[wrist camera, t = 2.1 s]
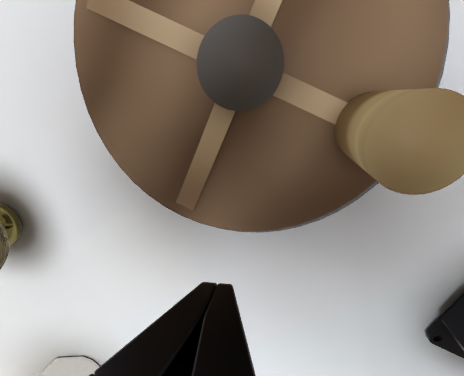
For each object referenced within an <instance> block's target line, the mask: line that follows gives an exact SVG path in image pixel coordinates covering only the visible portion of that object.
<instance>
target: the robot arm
mask: <svg viewBox="0 0 464 376" xmlns="http://www.w3.org/2000/svg"><path fill="white" fill-rule="evenodd" d="M426 336H427V338H428V339H429V341H430V342H431V343H432V344H435V345H437V346H439V347H441V348H443V349H445V350H447V351H449V352H451V353H454V354H456V355H458V356H460V357H462V358H464V294H463V295H462V296H461V297H460V298H459V299H458V300H457V301H456V302H455V303H454V304H453V305H452V306H451V307H450V308H449V309H448V310H447V311H446V312H445V313H444V314H443V315H442V316H441V317H440V318H439V319H438V320H437V321H436V322H435V323H434V324H433V325H432V326H431V327H430V328H429V329H428V330H427V332H426ZM89 376H256V375H255V371H254V367H253V364H252V360H251V356H250V352H249V348H248V344H247V340H246V336H245V332H244V328H243V324H242V321H241V317H240V313H239V309H238V305H237V301H236V297H235V293H234V289H233V286H232V285H231V284H221V283H220V284H218V285H217V284H216V283H210V282H203V283H201V284H200V285H198V286H197V287H196V288H195V289H194V290H192V291H191V292H190V293H189V294H187V295H186V296H185V297H184V298H183V299H181V300H180V301H179V302H178V303H177V304H175V305H174V306H173V307H172V308H170V309H169V310H168V311H167V312H166V313H164V314H163V315H162V316H161V317H160V318H158V319H157V320H156V321H155V322H153V323H152V324H151V325H150V326H149V327H147V328H146V329H145V330H144V331H143V332H141V333H140V334H139V335H138V336H136V337H135V338H134V339H133V340H132V341H130V342H129V343H128V344H127V345H126V346H124V347H123V348H122V349H121V350H119V351H118V352H117V353H116V354H115V355H113V356H112V357H111V358H110V359H109V360H107V361H106V362H105V363H104V364H103V365H101V366H100V367H99V368H98V369H96V370H95V373H94V374H90V375H89Z"/></svg>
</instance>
